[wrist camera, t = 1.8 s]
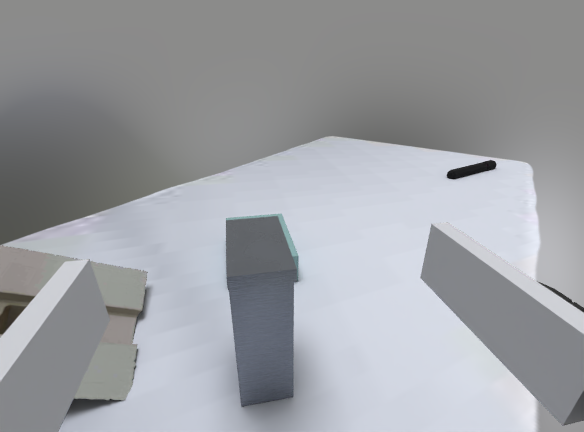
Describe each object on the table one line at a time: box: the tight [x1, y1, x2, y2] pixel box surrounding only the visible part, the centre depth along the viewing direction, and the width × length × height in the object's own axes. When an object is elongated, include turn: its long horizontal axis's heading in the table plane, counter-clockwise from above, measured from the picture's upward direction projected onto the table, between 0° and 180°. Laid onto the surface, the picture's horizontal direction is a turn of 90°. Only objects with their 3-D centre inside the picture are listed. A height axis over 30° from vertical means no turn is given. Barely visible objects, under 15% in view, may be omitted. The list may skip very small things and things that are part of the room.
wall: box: [0, 245, 148, 400], centre depth 30 cm, size 16×9×15 cm
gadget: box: [447, 160, 496, 179], centre depth 84 cm, size 2×2×20 cm
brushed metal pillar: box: [226, 216, 297, 406], centre depth 26 cm, size 4×8×14 cm, turn 11°
